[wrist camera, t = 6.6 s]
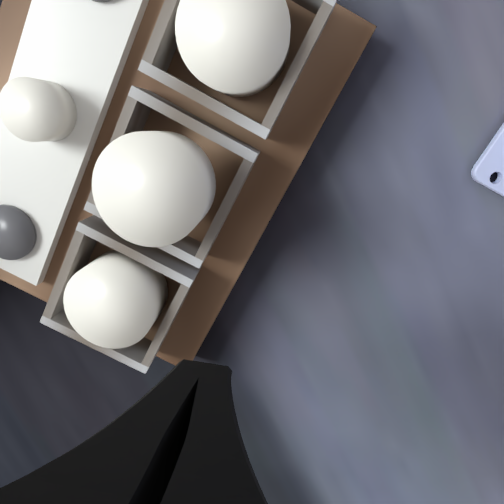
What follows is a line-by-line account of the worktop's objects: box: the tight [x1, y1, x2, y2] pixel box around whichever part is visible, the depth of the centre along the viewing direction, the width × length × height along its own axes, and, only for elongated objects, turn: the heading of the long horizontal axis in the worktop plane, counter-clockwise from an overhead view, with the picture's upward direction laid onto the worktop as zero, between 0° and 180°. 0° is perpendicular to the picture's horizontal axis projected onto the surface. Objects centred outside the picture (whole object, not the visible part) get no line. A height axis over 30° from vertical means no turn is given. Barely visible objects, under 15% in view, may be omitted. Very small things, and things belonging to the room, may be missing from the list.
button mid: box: [92, 131, 216, 247], centre depth 15 cm, size 4×4×2 cm
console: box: [0, 0, 377, 374], centre depth 18 cm, size 14×18×4 cm
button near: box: [175, 0, 291, 97], centre depth 15 cm, size 4×4×2 cm
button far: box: [63, 250, 168, 349], centre depth 18 cm, size 4×4×2 cm
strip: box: [0, 0, 149, 286], centre depth 17 cm, size 4×16×2 cm, turn 152°
